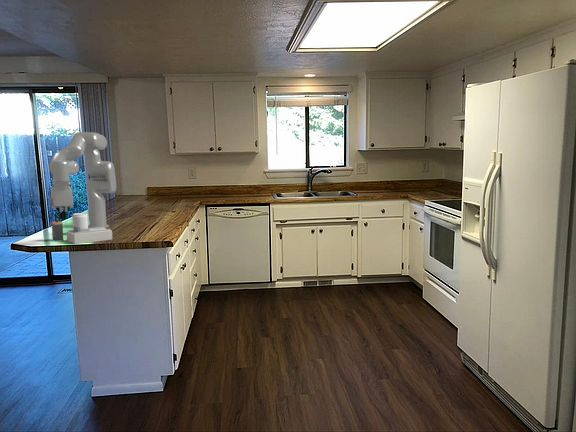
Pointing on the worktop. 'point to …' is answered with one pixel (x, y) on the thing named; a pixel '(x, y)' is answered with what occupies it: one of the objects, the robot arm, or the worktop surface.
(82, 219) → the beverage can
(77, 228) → the shutter
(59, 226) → the plug
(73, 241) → the socket block
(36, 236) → the worktop surface
